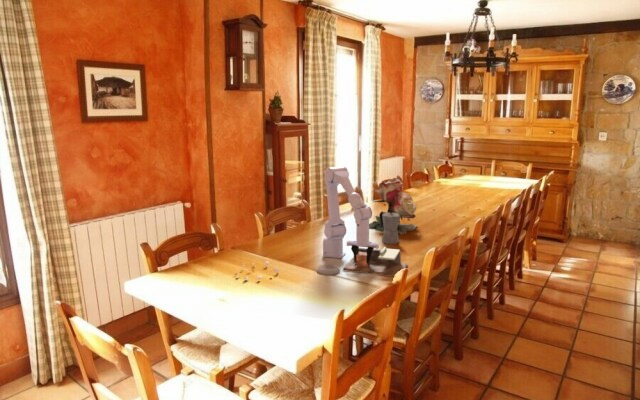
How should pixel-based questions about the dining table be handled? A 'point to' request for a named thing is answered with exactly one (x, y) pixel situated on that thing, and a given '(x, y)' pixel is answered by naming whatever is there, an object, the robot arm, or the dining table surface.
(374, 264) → the puzzle board
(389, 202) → the rose bouquet
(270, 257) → the dining table surface
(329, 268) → the saucer
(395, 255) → the sliding lid
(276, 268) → the game piece set
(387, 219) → the coffeepot
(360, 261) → the block
